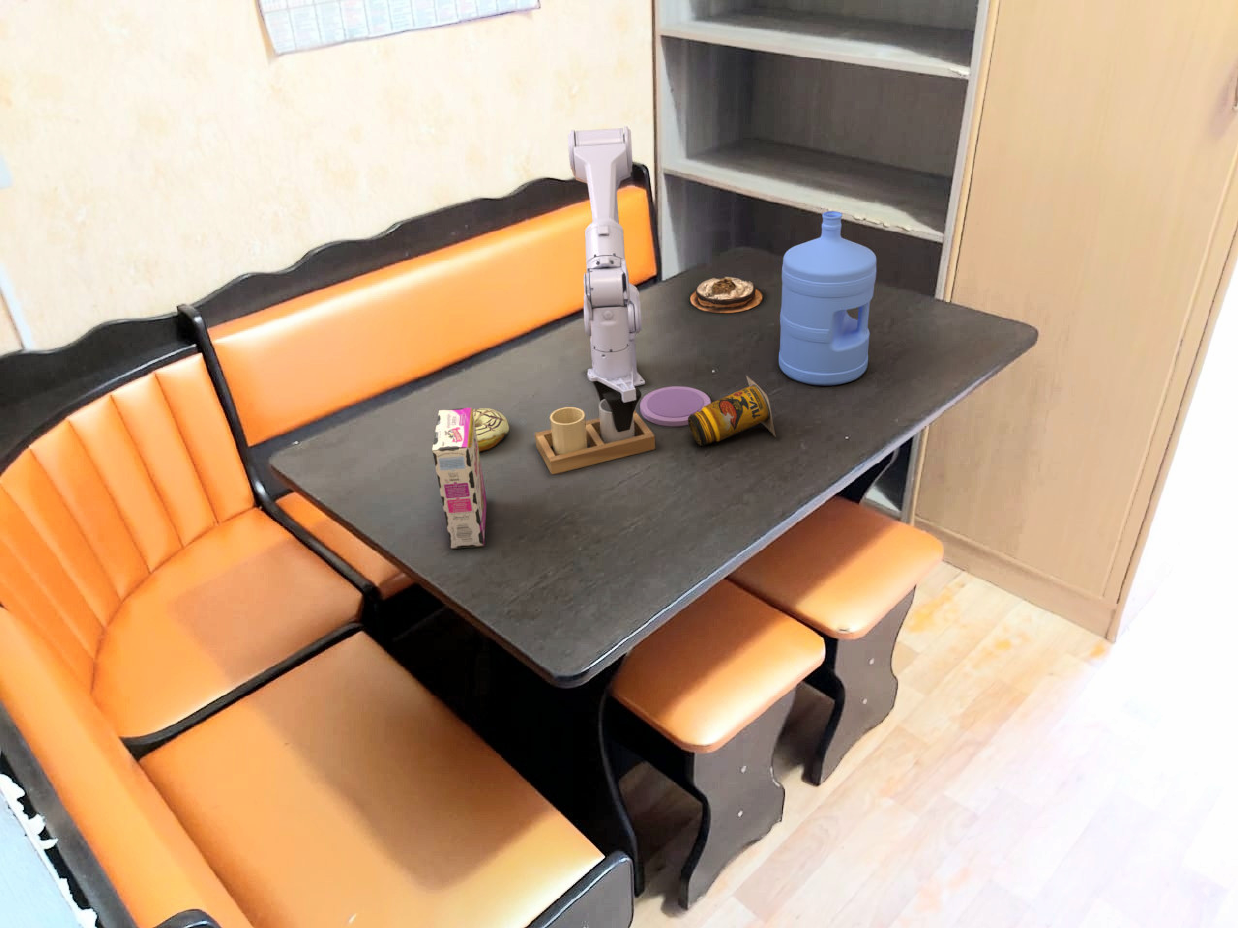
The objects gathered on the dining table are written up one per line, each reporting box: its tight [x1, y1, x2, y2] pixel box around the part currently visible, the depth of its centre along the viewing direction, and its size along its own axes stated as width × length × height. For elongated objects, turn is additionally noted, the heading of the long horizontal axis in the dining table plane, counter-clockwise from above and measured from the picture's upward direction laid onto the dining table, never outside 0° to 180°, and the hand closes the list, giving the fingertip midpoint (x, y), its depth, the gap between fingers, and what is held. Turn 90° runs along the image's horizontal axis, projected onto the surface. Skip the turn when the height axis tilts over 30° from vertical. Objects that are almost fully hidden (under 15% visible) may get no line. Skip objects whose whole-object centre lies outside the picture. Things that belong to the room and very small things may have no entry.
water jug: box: [778, 210, 877, 387], centre depth 158 cm, size 16×16×28 cm
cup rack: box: [534, 409, 656, 475], centre depth 147 cm, size 9×17×2 cm, turn 110°
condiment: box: [688, 374, 777, 447], centre depth 146 cm, size 7×8×12 cm
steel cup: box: [598, 399, 636, 444], centre depth 147 cm, size 5×5×7 cm
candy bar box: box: [431, 407, 488, 550], centre depth 128 cm, size 11×5×16 cm, turn 5°
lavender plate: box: [639, 385, 712, 427], centre depth 156 cm, size 12×12×1 cm
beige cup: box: [549, 406, 589, 456], centre depth 145 cm, size 5×5×7 cm
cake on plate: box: [690, 276, 763, 314], centre depth 193 cm, size 15×15×4 cm
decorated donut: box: [472, 407, 510, 452], centre depth 151 cm, size 10×11×4 cm
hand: (616, 421), depth 147 cm, fingers closed on steel cup, 5 cm apart
